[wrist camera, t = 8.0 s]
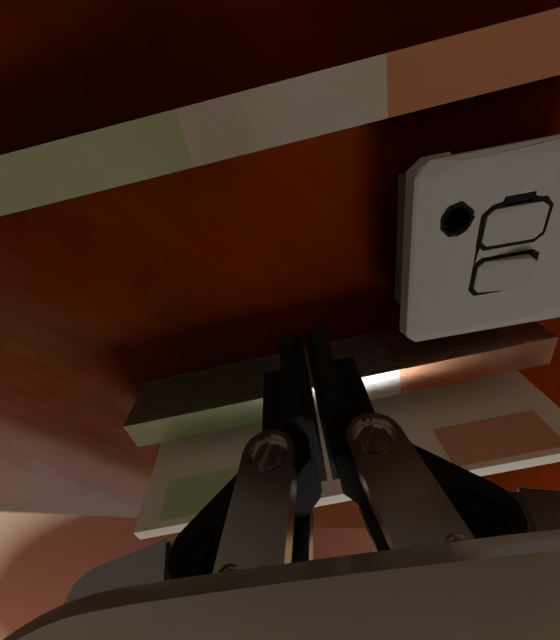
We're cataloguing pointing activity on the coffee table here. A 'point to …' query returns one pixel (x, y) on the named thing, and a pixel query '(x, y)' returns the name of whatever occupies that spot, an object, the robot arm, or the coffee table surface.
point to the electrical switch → (479, 239)
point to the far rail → (367, 350)
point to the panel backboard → (406, 409)
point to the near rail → (284, 112)
